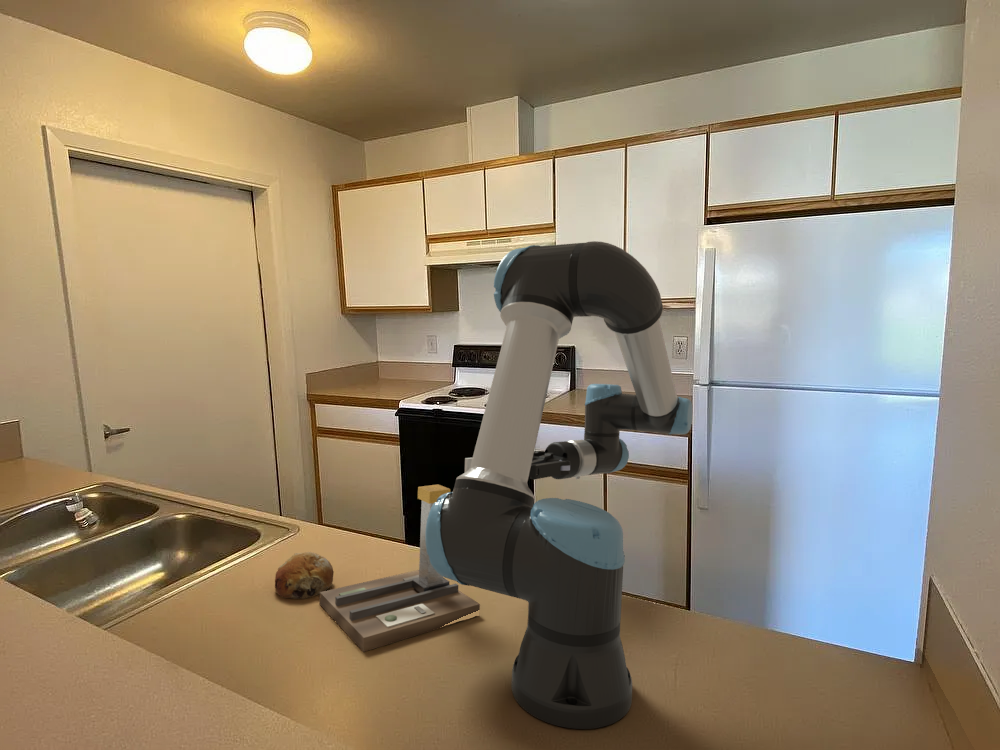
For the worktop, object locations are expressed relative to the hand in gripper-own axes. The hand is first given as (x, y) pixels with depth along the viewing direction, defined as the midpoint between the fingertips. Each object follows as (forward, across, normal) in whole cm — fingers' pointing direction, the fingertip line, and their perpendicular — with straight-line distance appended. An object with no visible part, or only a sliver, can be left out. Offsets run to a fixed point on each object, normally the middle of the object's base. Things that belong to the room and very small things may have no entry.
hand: (477, 469), depth 99 cm
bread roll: (+25, +17, -22) cm, 38 cm away
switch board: (+15, 0, -22) cm, 27 cm away
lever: (+9, 0, -20) cm, 22 cm away
